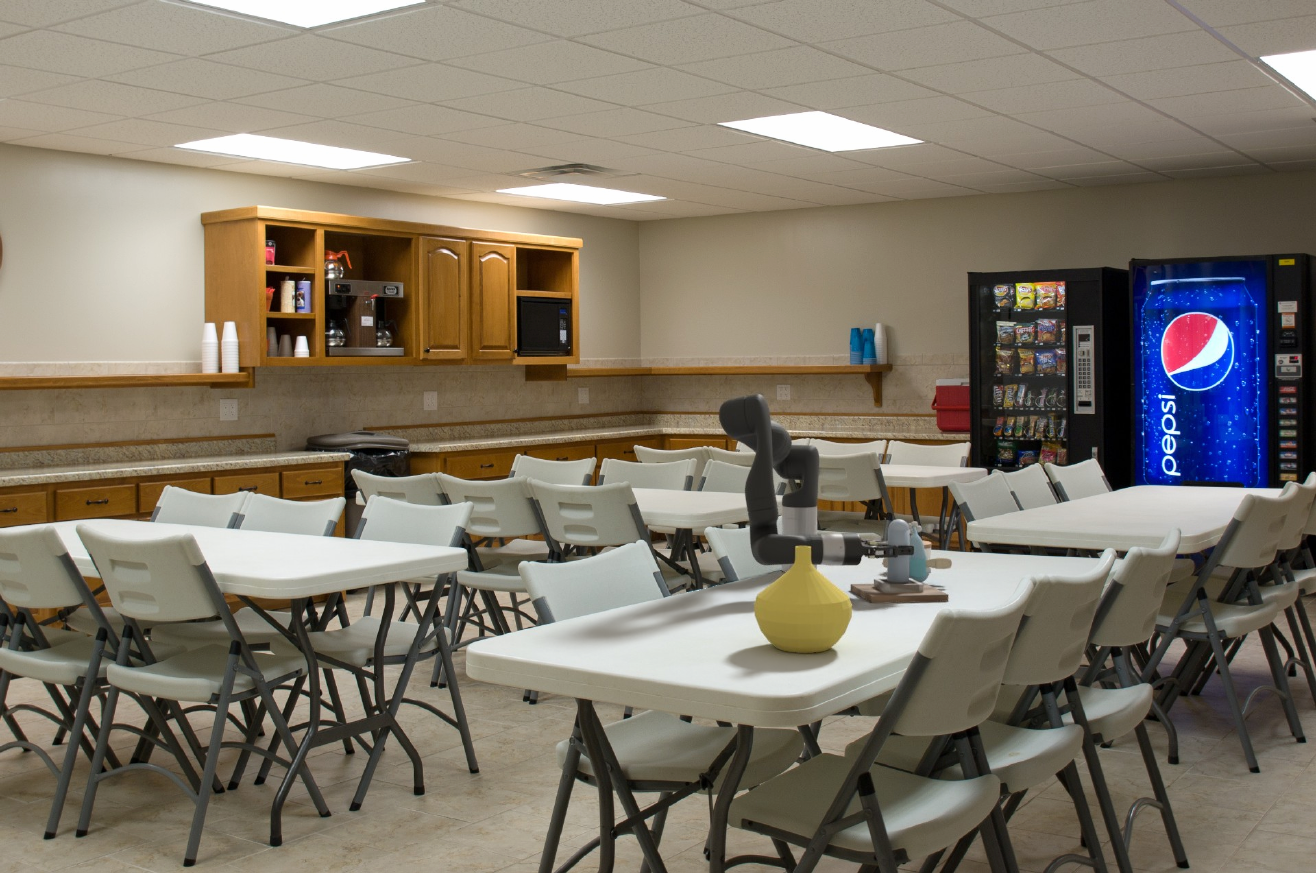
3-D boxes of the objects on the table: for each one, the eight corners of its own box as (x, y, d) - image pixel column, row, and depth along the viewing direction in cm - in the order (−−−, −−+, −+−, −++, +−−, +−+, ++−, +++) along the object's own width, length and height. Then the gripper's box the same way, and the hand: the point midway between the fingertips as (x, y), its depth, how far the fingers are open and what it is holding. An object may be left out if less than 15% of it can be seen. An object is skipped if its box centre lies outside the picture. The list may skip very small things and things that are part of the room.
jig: (850, 590, 299) (850, 576, 298) (922, 588, 301) (923, 575, 301) (871, 603, 282) (872, 588, 282) (948, 601, 284) (948, 586, 284)
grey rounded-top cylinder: (884, 579, 293) (885, 518, 293) (904, 578, 294) (905, 518, 293) (891, 582, 288) (891, 520, 288) (911, 582, 289) (912, 520, 288)
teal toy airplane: (946, 580, 314) (947, 520, 313) (952, 587, 303) (952, 525, 303) (879, 579, 316) (879, 520, 315) (882, 585, 305) (883, 525, 304)
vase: (855, 640, 242) (855, 542, 241) (847, 660, 224) (848, 555, 223) (761, 635, 246) (761, 539, 245) (747, 655, 228) (747, 551, 227)
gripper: (847, 536, 282) (920, 536, 284) (830, 529, 296) (899, 529, 298) (847, 569, 282) (919, 569, 284) (830, 561, 296) (899, 560, 298)
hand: (909, 548), depth 291 cm, fingers closed on grey rounded-top cylinder, 5 cm apart
